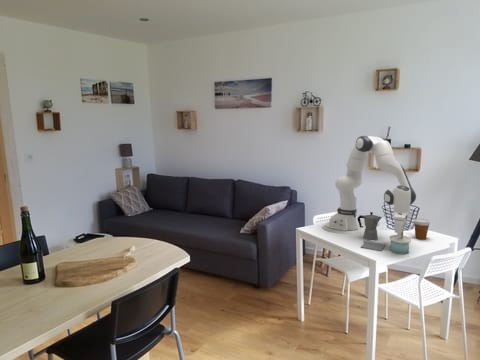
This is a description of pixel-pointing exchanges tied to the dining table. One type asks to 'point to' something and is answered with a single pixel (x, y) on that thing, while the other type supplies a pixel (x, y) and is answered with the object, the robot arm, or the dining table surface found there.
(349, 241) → the dining table surface
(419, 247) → the dining table surface
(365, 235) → the coffeepot
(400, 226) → the robot arm
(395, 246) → the crock
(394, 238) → the lid
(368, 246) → the mat
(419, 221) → the disposable coffee cup
